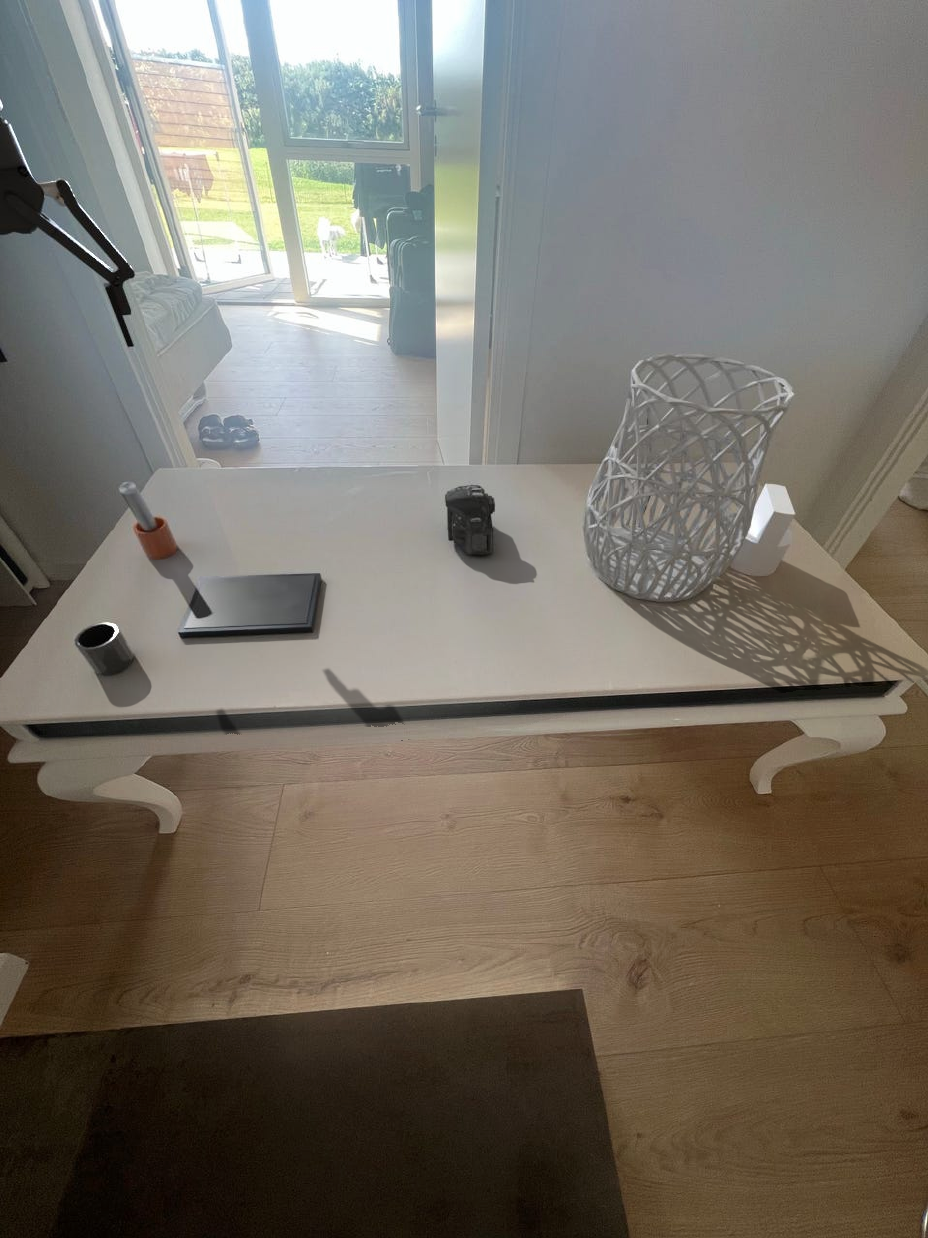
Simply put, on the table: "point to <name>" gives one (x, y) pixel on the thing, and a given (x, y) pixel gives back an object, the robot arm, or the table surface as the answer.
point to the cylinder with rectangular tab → (766, 533)
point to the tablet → (252, 605)
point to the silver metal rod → (138, 506)
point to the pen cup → (156, 540)
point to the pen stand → (104, 648)
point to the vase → (677, 487)
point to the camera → (470, 519)
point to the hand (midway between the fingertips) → (69, 351)
